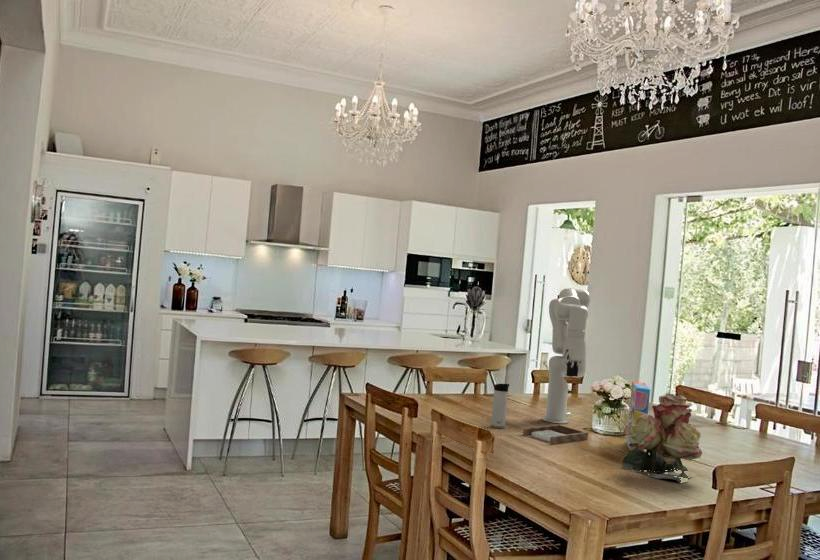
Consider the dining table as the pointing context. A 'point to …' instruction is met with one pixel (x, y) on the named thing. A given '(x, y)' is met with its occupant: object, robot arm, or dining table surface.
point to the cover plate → (545, 435)
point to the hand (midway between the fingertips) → (571, 375)
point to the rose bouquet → (663, 439)
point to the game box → (638, 404)
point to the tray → (569, 436)
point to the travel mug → (499, 405)
